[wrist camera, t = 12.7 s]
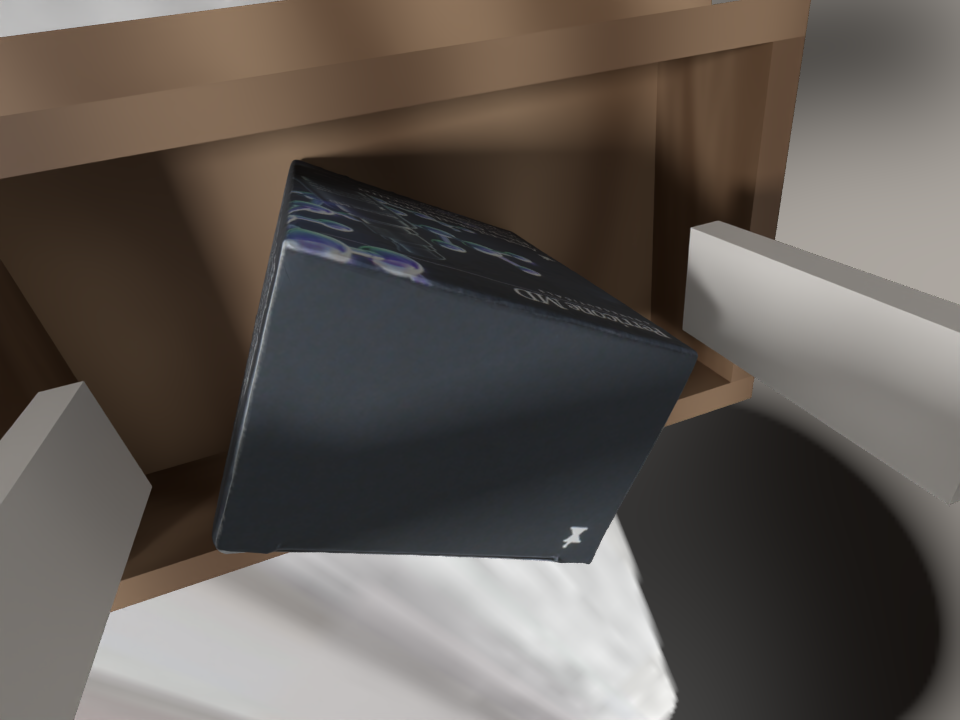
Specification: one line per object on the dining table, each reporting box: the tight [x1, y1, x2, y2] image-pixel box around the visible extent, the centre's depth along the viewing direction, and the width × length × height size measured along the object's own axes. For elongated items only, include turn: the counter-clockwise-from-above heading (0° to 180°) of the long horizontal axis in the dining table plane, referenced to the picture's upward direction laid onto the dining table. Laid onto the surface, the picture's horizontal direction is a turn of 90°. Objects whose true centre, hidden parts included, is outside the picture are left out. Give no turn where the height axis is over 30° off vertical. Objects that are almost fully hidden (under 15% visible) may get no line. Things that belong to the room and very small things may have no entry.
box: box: [212, 159, 698, 564], centre depth 14 cm, size 8×6×11 cm
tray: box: [0, 0, 811, 612], centre depth 16 cm, size 25×16×6 cm, turn 99°
